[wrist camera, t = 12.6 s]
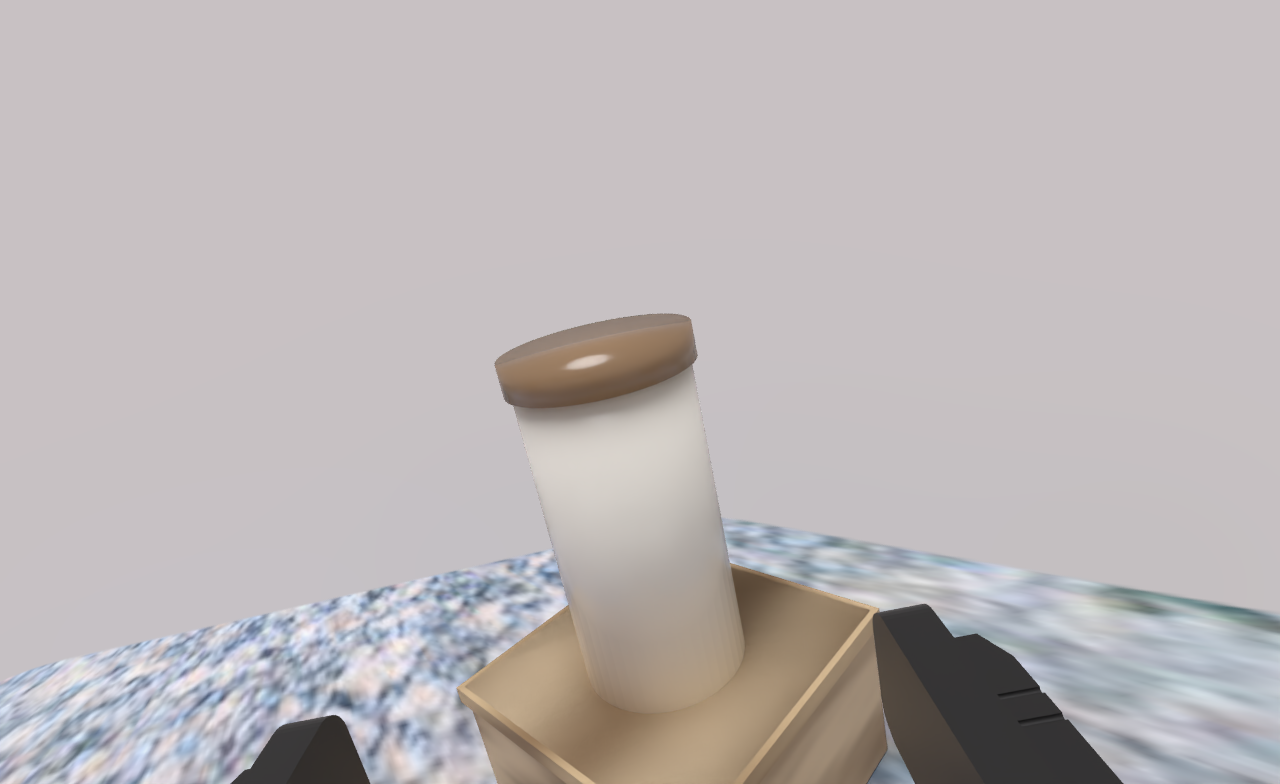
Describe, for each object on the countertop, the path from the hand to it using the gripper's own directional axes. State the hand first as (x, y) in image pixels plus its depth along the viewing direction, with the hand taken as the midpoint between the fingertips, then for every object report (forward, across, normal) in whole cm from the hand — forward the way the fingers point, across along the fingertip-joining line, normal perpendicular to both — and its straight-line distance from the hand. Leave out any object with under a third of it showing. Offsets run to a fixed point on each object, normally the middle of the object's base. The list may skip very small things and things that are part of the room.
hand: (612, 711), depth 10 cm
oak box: (+11, 0, +14) cm, 17 cm away
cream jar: (+11, 0, +8) cm, 13 cm away
